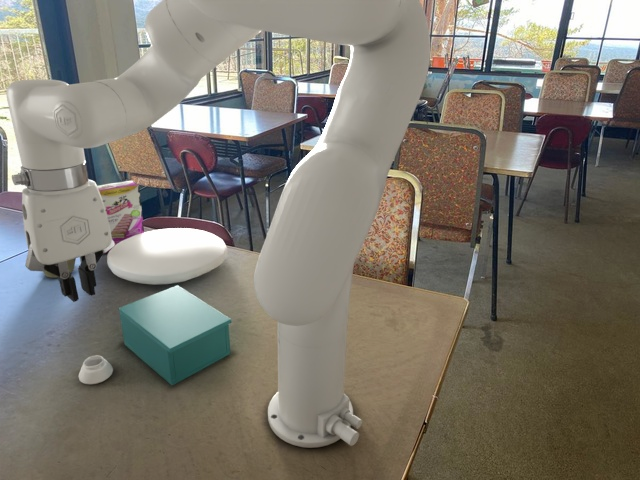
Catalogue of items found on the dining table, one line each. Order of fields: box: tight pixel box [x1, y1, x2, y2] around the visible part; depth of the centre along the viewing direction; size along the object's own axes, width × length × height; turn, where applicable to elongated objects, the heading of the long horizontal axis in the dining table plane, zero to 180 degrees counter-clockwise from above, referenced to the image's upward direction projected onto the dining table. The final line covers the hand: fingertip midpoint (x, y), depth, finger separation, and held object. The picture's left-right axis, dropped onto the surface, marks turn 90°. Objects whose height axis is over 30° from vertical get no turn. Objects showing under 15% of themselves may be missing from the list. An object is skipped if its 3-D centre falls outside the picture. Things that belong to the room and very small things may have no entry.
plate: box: [106, 227, 228, 286], centre depth 114 cm, size 28×6×27 cm
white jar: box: [78, 354, 114, 385], centre depth 77 cm, size 5×3×5 cm
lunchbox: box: [118, 311, 231, 386], centre depth 84 cm, size 16×12×7 cm
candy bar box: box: [97, 180, 145, 255], centre depth 121 cm, size 11×5×16 cm, turn 130°
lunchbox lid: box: [118, 284, 232, 353], centre depth 82 cm, size 16×12×1 cm
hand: (80, 294), depth 72 cm, fingers closed
